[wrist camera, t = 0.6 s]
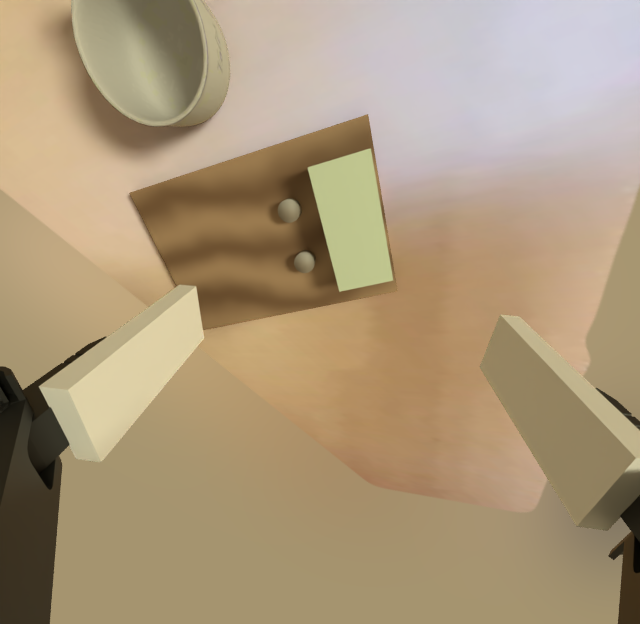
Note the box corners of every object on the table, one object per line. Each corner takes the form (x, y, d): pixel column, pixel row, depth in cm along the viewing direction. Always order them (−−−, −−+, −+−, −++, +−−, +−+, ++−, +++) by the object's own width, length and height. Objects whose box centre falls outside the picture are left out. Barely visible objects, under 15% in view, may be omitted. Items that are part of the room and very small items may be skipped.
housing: (312, 167, 31) (307, 167, 28) (368, 149, 30) (370, 148, 26) (340, 280, 36) (339, 291, 33) (389, 269, 35) (393, 280, 32)
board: (136, 192, 35) (120, 194, 33) (367, 116, 29) (368, 111, 27) (203, 326, 43) (194, 336, 41) (396, 287, 37) (399, 296, 35)
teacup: (263, 78, 29) (234, 50, 22) (195, 157, 33) (152, 155, 26) (151, -78, 25) (70, -174, 18) (89, 33, 29) (2, -10, 22)
